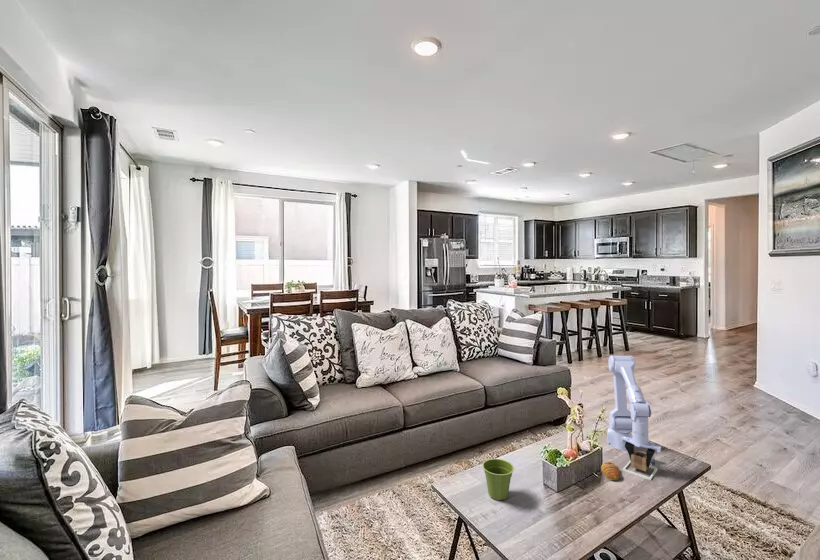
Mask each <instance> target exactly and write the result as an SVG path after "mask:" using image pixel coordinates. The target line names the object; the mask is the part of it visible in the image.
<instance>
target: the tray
mask: <svg viewBox="0 0 820 560" xmlns="http://www.w3.org/2000/svg"><path fill="white" fill-rule="evenodd" d="M629 466H631V461H630V460H629V461H628V462H627V464H625V466H624V467H623V468H622V471H623V472H626V473H629V474H631V475H635V476H637V477H640V478H644V479H645V480H649V481H651V480H652V479H653V477H654V476H655V475H656V473H657V471H658V467H655V466H652V465H650V466H649V468H648V469H651V470H653V471H652V473H651V474H650V476H646V475H643V474H640V473H638V472H634V471H632V470H629V469H627V468H628V467H629Z"/></svg>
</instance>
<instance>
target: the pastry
mask: <svg viewBox="0 0 820 560" xmlns="http://www.w3.org/2000/svg"><path fill="white" fill-rule="evenodd" d="M600 471H601V473H602V474H603V475H604V476H605V478H606V479H608V480H609V481H619V479H620V476H621V472H620V470H619V467H618V466H617V464H615V463H613V462H611V461H606V462H603V463H602V464H601V466H600Z"/></svg>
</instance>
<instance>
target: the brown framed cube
mask: <svg viewBox="0 0 820 560" xmlns="http://www.w3.org/2000/svg"><path fill="white" fill-rule="evenodd" d="M630 467H631V468H634V469H636V470H639V471H643V472H647V471H648V469H650V468H649V467H647V455H646V452H645V453H644V452H643V451H639V450H638V451H637V450H634V452H633V453H632V454H631V463H630Z"/></svg>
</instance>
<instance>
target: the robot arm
mask: <svg viewBox="0 0 820 560" xmlns="http://www.w3.org/2000/svg"><path fill="white" fill-rule="evenodd" d="M607 362H608V371H609V373H612V378H613V389H614V390H613V391H614V392H613V393H614V409H611V410H610V411H609V413H608V414H609V417H608V424H609V426H608V428H607V432H606V445H607V446H609V447H611V448H614V449H616V450H620V451H627V453H628V456H629V461H631V454H632V453H633V452H634V451H635V447H637V448H644V449H647V450H646V451H645V454H646V455H647V467H649V466H651V465H650V462H651V459H652V457H653V455H654V453H655V454H656V453H661V452H662V446H661V445H657V444H655V443H652V442H649V418H651V417H652V407H651V405H650V403H649V402H648V400H646V399H645V397H644V394H643V392H642V389H641V387H640V386H637V382H636V377H635V374H634V371H635V367H636V360H635V358H634V356H633V355H611V354H610V356H609V357H608V361H607ZM626 386H627V387H626ZM627 398H628V401H627ZM628 402H629V403H630V404H629V409H628V404H627V403H628ZM631 435H632V437H631Z"/></svg>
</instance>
